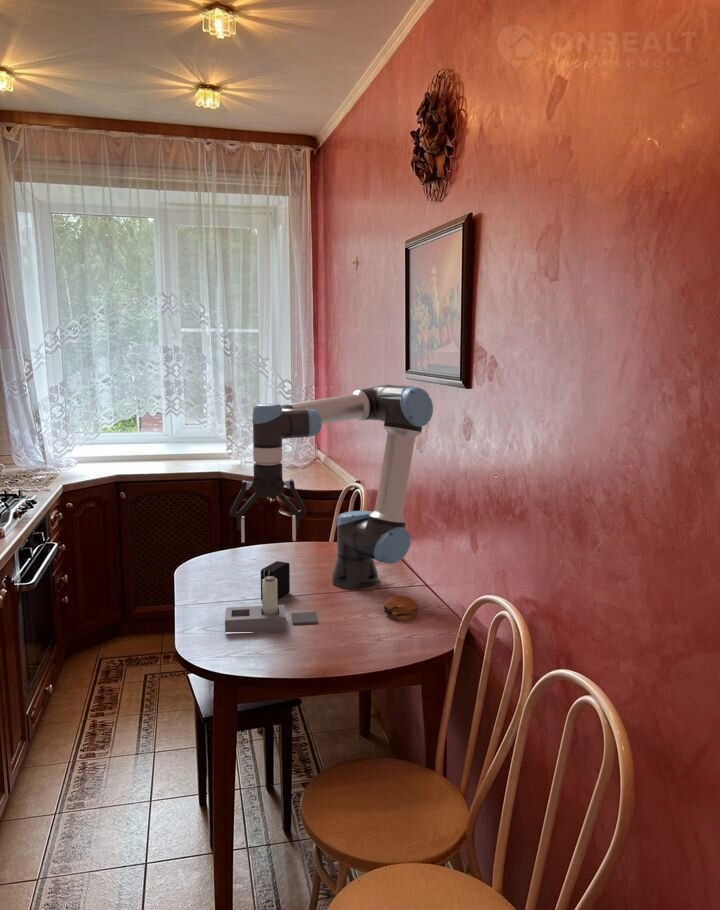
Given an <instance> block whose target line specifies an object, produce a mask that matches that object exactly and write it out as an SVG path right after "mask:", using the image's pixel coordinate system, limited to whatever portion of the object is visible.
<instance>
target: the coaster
mask: <svg viewBox="0 0 720 910" xmlns="http://www.w3.org/2000/svg"><path fill="white" fill-rule="evenodd" d="M290 615H291V622H292V623H291V625H292V626H296V625H298V626H299V625H300V626H301V625H313V624H314V625H315V624H316V625H317V624H319V620H318V616H317V615H318V614H317V611H305V612H291V613H290Z"/></svg>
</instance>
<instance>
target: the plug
mask: <svg viewBox="0 0 720 910" xmlns="http://www.w3.org/2000/svg"><path fill="white" fill-rule="evenodd" d="M262 585H263V601H262V606H263V615H278V605H279V604H278V601H279V600H278V595H277V579H276V578H275V577H273V576H267V577H265V579H263V580H262Z"/></svg>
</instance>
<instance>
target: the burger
mask: <svg viewBox="0 0 720 910" xmlns="http://www.w3.org/2000/svg"><path fill="white" fill-rule="evenodd" d="M383 609H384V613H386V616H387V617H389V618H390V619H396V620H398V621H409V620H412V619H414V618H415V617H416V614H417V613H418V611H419V608H418V604H417V601H415V600H414V599H413V598H410V597H408V596H403V595H394V596H390V597H388V598H387V599H386V600H384V602H383Z"/></svg>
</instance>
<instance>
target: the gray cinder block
mask: <svg viewBox="0 0 720 910" xmlns="http://www.w3.org/2000/svg"><path fill="white" fill-rule="evenodd" d="M285 608H286V607H285V604H278V615H263V605H248V606H229V607H226V608H225V614H224V615H225V617H224V633H225V632H265V633H278V632H279V633H280V632H287V631H286V630H287V623H286V622H287V620H286V619H287V618H286V615H287V614H286V609H285Z"/></svg>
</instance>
